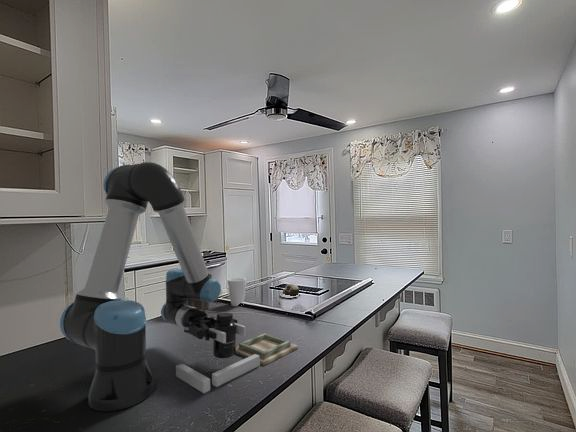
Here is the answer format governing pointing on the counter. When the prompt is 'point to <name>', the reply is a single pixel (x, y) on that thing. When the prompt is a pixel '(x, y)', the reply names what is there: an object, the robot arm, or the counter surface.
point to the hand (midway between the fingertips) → (235, 334)
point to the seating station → (265, 348)
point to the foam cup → (237, 290)
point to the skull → (291, 289)
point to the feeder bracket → (216, 373)
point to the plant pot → (199, 303)
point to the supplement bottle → (229, 328)
